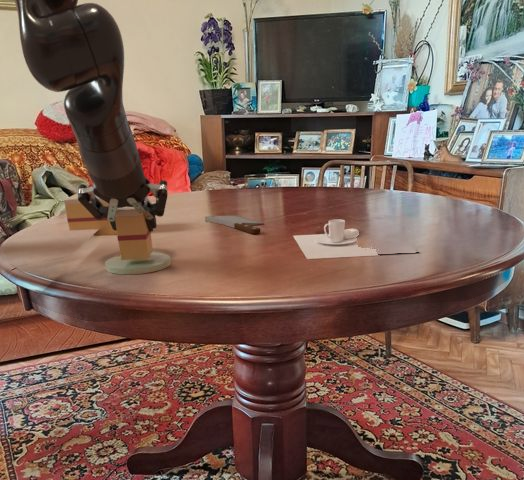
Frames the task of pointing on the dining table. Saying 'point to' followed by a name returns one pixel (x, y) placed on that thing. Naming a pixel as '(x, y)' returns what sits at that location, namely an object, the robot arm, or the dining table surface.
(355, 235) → the teacup and saucer
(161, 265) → the plate
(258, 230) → the kitchen cleaver
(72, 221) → the cake
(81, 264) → the dining table surface
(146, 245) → the cake slice
